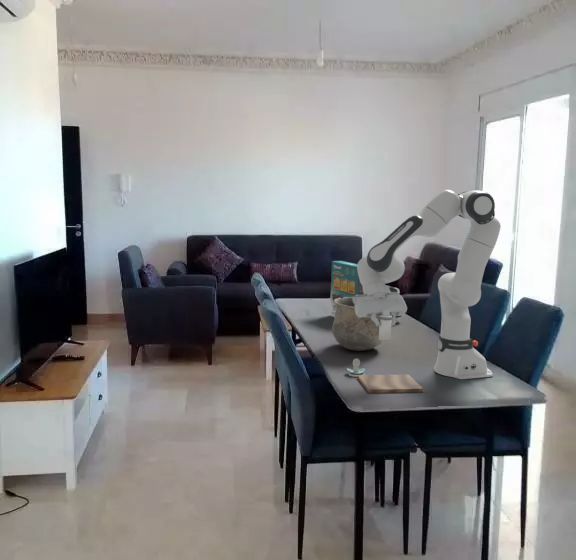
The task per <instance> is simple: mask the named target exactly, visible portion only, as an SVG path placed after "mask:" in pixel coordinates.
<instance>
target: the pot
mask: <svg viewBox="0 0 576 560" xmlns="http://www.w3.org/2000/svg"><path fill="white" fill-rule="evenodd" d="M352 298H353V297H344V298H342V299H341V298H337V299H335V300H334V304H335V305H336V312H335V317H333V322H332V327H331V333H332V336H333V337H334V339H335V340H336V342H337V343H338V344H339V345H341V346H342V347H343V348H345V349H346V350H350V351H355V352H363V351H369V350H372V349H375V348H376V347H378V346H379V345H381V344H382V342H383V341H381V340H379V326H376V324H375V322H374V321H373V320H372V319H371V317H358V316H357V315H356V312H355V304H354V303H353V300H352ZM376 318H377V319H378V320H380V319H379V318H380V317H376Z"/></svg>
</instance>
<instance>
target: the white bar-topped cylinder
mask: <svg viewBox="0 0 576 560" xmlns="http://www.w3.org/2000/svg"><path fill="white" fill-rule="evenodd" d="M389 314H390V310H383V314H382V315H380V318H379V319H380V321H381V326H379V340H381V341H382V342H390V341H391V339H392V338H391V337H392V335H391V334H392V326H391V323H392V316H391V315H389Z"/></svg>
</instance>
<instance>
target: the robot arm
mask: <svg viewBox="0 0 576 560" xmlns="http://www.w3.org/2000/svg"><path fill="white" fill-rule="evenodd" d="M495 204H496V203H495V199H494V198H493V196H492V195H491V194H490V193H488V192H487V191H485V190H475V189H474V190H467V191H463V192H461V193H458V194H457V192H455V191H453V190H451V189H443V190H442V191H440V192H439V193H438V194H436V195H435V196H434V197H433V198H432V199H431V200H430V201H428V203H427V204H425V206H424V207H423V208H422V209H421V210H420V211H419V212H418V213H416V214H415V215H412V216H409V217H408V218H406V219H405V221H403V222H402V223H401V224H400V225H398V226H397V228H395V229H394V230H393V231H392V232H390V234H389V235H388V236H386V237H385V238H384V239H383V240H382V241H380V242H378V243H377V244H375V245H374V246H372V247H371V248H370V250H369V251H368V252H367V255H366V256H364V257H362V258H360V259H359V261H358V262H357V264H358V265H357V271H358V276H359V279H360V283H361V284H362V286H363V292H364V294H362V295H355V296H353V298H352V300H353V303H354V304H355V312H356V315H357V316H358V317H371V319H372V320H373V321H374V322H375V324H376V326H381V321H380V320H378V319H377V318H376V317H380V315H382V314H383V310H390V314H389V315H391V316H392V323H391V327H392V326H395V325H396V323H395V316H402V317H403V316H405V314H406V313H407V310H408V306H407V304H406V301H405V300H404V297H403V295H401V294H400V293H401V292H400V289H399V288H397V287H393V286H390V285H386V284H390V283H393V282H396V281H398V280H399V279H401V278H402V277H403V275H404V274H405V271H406V266H405V263H404V262H403V260H402V259H401V258H400V257H399V256H398V255H396V252H397V251H398V250H399V249H400V248H401V247H402V246H403V245H404V244H405V243H406V242H408V241H409V240H410V239H411V238H413V237H415V236H421V237H425V238H432V237H433V238H434V237H436V236H437V235H439V234H441V232H442V231H444V229H445V228H446V227H447V226H448V225H449V224H450V223H451V222H452V220H453V219H454V218H456V217H457V216H458V217H460V218H463V219H468V220H470V228H469V231H468V233H467V235H466V238H465V240H464V241H463V243H462V246H461V248H460V251H459V252H458V255H457V265H456V269H455V272H447V273H444V274H442V276H441V275H440V278H439V279H438V282H437V288H438V292H439V300H440V301H439V303H440V312H441V322H440V323H441V325H440V335H439V336H438V342H437V344H438V345H437V346H438V347H437V348H438V353H437V358H436V362H435V364H434V368H433V371H434V372H435V373H437V374H439V375H442V376H446V377H451V378H454V379H458V380H468V379H470V380H471V379H481V378H490V377H493V372H492V370H490V369H489V368H488V364H487V360H486V358H485V357H484V355H483V354H481V353H480V352H479V351H478V350H477V349H475V348H474V347H478V346H479V342H478V341H477V340H475V339H474V340H473V339H472V338H470V335H471V334H470V333H471V321H472V319H471V314H470V311H469V307H473V306H475V305H477V304H478V303H479V301H480V300H481V297H482V289H481V287H482V281H483V276H484V273H485V270H486V269H485V268H486V266H487V264H488V261H489V260H490V257H491V255H492V252H493V250H494V248H495V246H496V244H497V241H498V238H499V235H500V230H501V223H500V221H499V220H498V219H497V218H496V217H495V213H496V212H495V208H496V205H495Z"/></svg>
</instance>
